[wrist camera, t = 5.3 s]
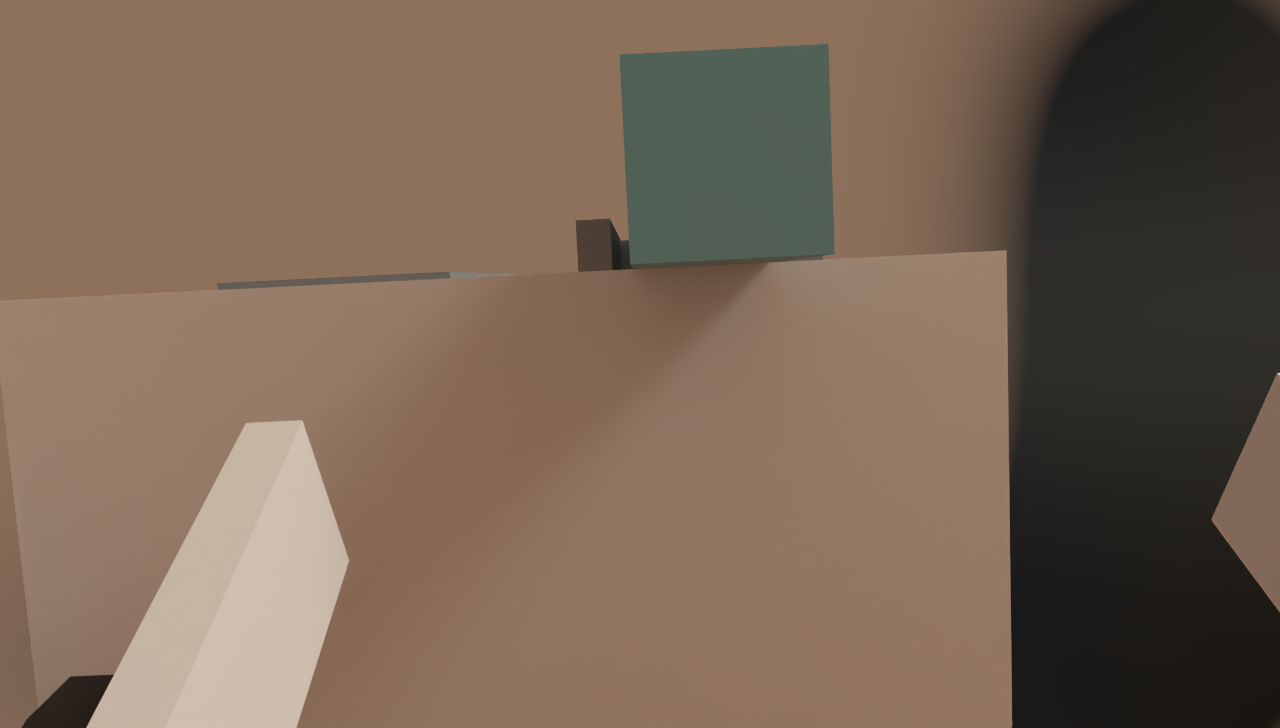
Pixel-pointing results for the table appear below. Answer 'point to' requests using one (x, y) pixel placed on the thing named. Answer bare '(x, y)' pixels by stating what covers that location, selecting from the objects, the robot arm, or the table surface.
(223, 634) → the robot arm
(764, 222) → the teal block
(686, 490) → the tall cream box
